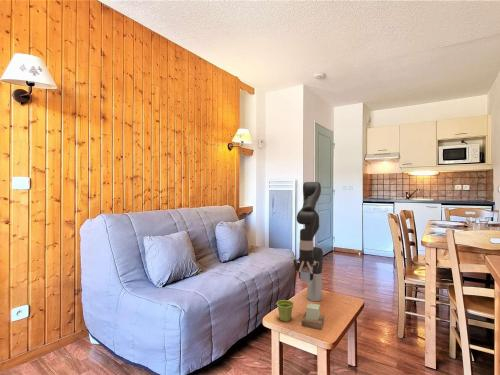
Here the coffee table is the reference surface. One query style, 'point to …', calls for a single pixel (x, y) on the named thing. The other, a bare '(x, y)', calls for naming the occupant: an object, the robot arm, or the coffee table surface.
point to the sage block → (313, 311)
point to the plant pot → (285, 309)
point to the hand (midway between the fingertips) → (306, 279)
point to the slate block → (305, 275)
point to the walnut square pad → (313, 322)
